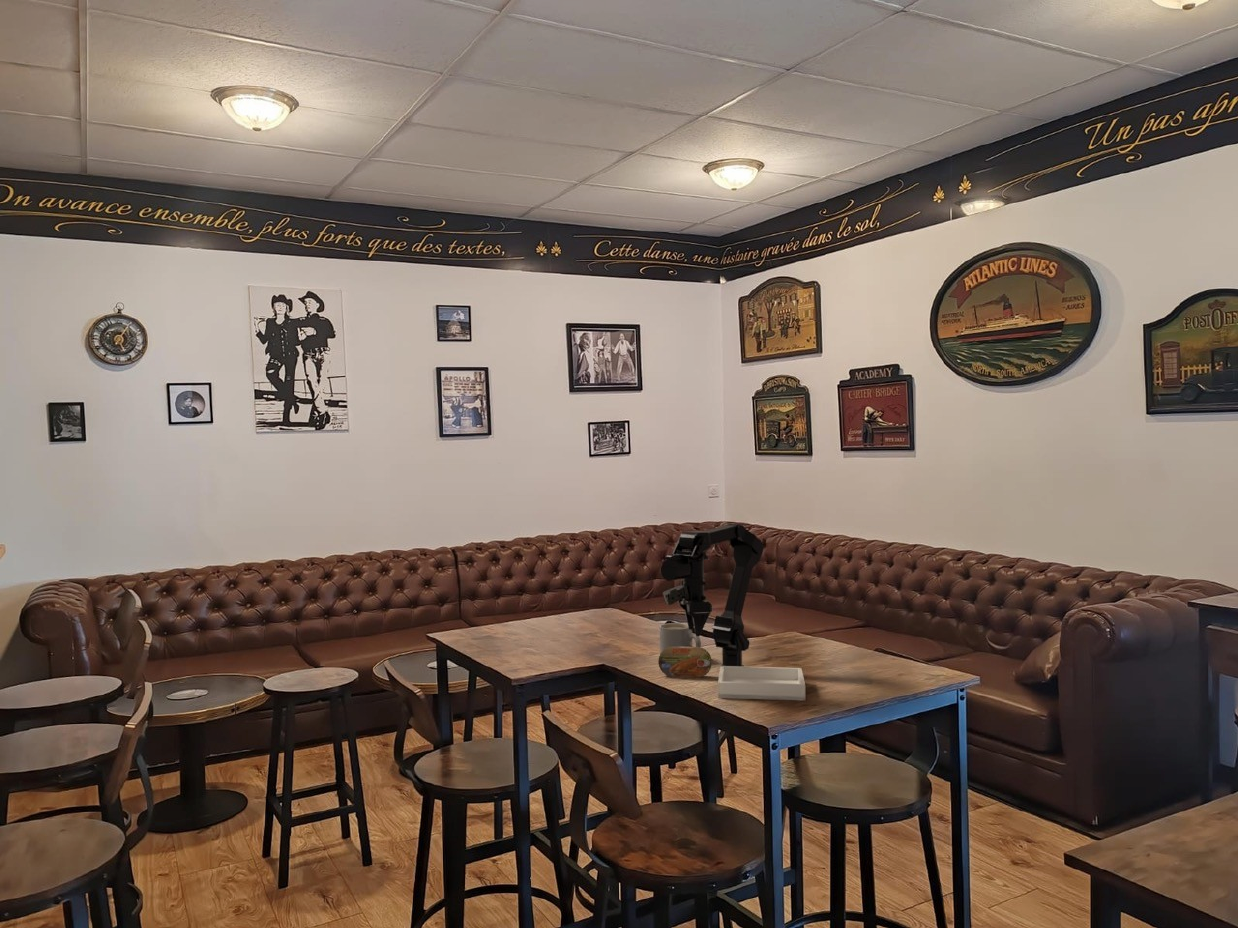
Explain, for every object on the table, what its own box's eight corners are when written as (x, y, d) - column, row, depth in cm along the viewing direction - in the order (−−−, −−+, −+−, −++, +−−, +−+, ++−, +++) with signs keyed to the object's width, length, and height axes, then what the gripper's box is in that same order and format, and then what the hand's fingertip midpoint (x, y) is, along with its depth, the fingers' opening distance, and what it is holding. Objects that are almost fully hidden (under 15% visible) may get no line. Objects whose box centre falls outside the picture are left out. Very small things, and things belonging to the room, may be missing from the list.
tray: (720, 680, 250) (720, 665, 250) (801, 682, 247) (801, 667, 247) (718, 697, 232) (718, 682, 232) (805, 700, 229) (805, 684, 229)
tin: (658, 676, 255) (658, 646, 255) (659, 673, 258) (659, 644, 258) (711, 678, 253) (711, 648, 252) (712, 675, 256) (712, 646, 256)
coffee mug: (653, 658, 277) (653, 626, 277) (675, 653, 284) (675, 621, 284) (685, 665, 267) (684, 632, 267) (707, 660, 274) (707, 627, 274)
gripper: (659, 573, 259) (660, 627, 259) (671, 582, 240) (672, 641, 240) (697, 571, 260) (698, 625, 260) (711, 581, 242) (712, 639, 242)
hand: (694, 632), depth 251 cm, fingers open, 9 cm apart
